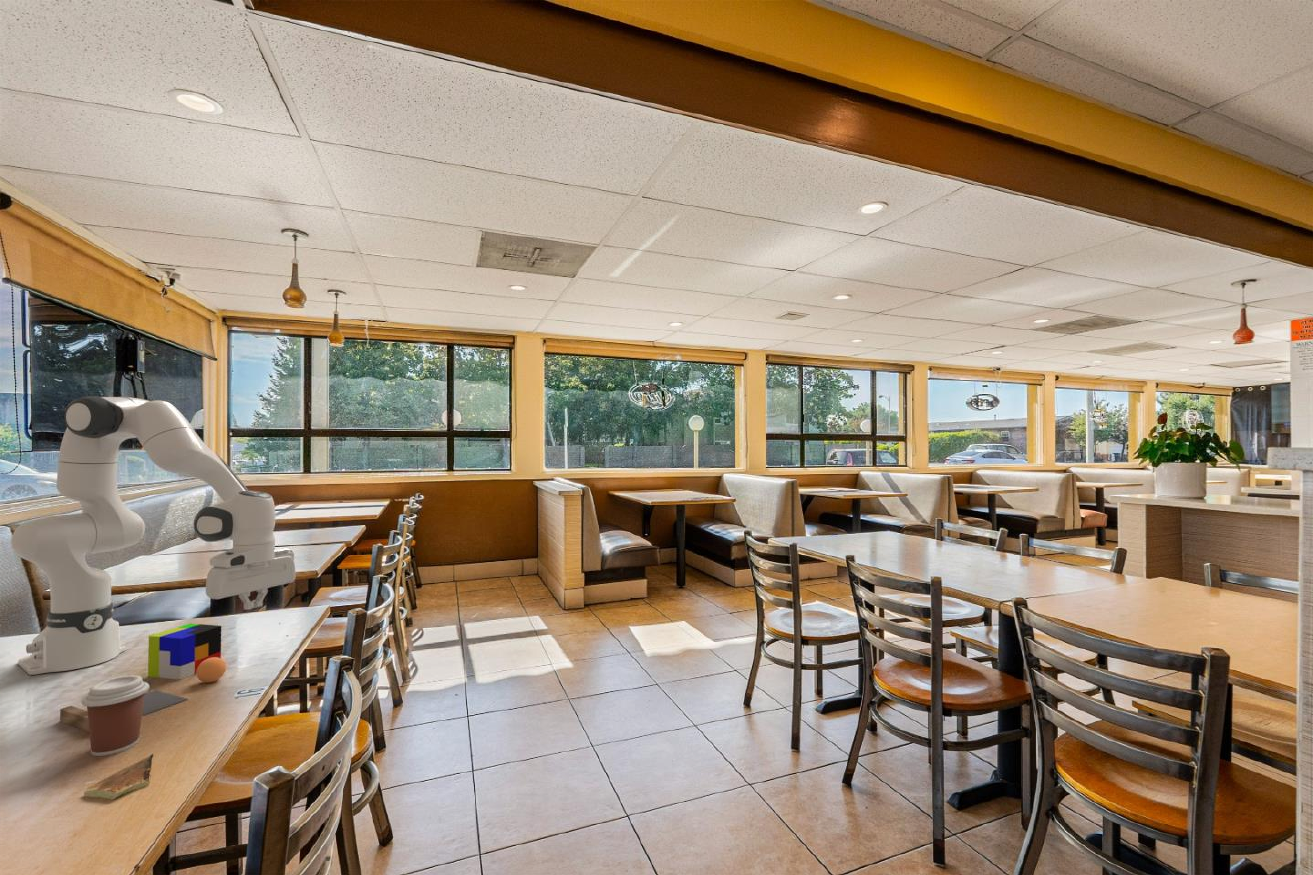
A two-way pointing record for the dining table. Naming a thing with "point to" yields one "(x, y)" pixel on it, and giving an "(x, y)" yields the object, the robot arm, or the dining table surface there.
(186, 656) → the puzzle toy
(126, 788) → the shard
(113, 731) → the coffee cup
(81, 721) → the brown long bar
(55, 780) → the dining table surface
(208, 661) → the ball
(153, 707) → the mark
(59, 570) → the robot arm
